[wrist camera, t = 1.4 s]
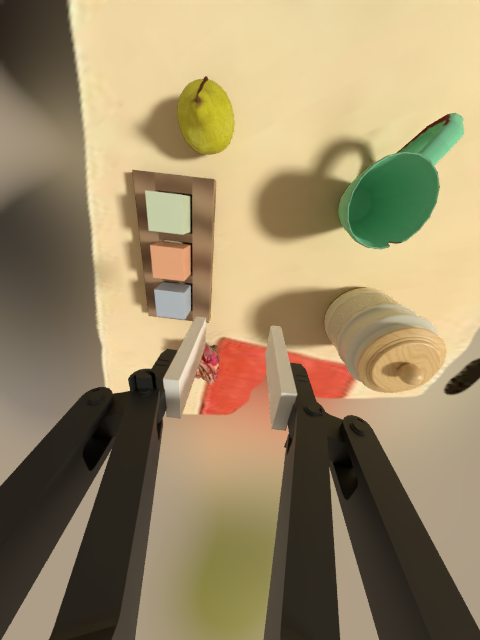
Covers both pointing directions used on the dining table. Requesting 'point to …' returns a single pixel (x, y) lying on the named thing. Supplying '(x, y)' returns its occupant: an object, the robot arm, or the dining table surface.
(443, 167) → the dining table surface
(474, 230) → the dining table surface
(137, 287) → the dining table surface
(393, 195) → the mug
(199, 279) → the button board
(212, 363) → the flower
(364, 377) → the jar
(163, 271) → the button terracotta
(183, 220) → the button sage
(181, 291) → the button slate
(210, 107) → the fruit
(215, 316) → the dining table surface
